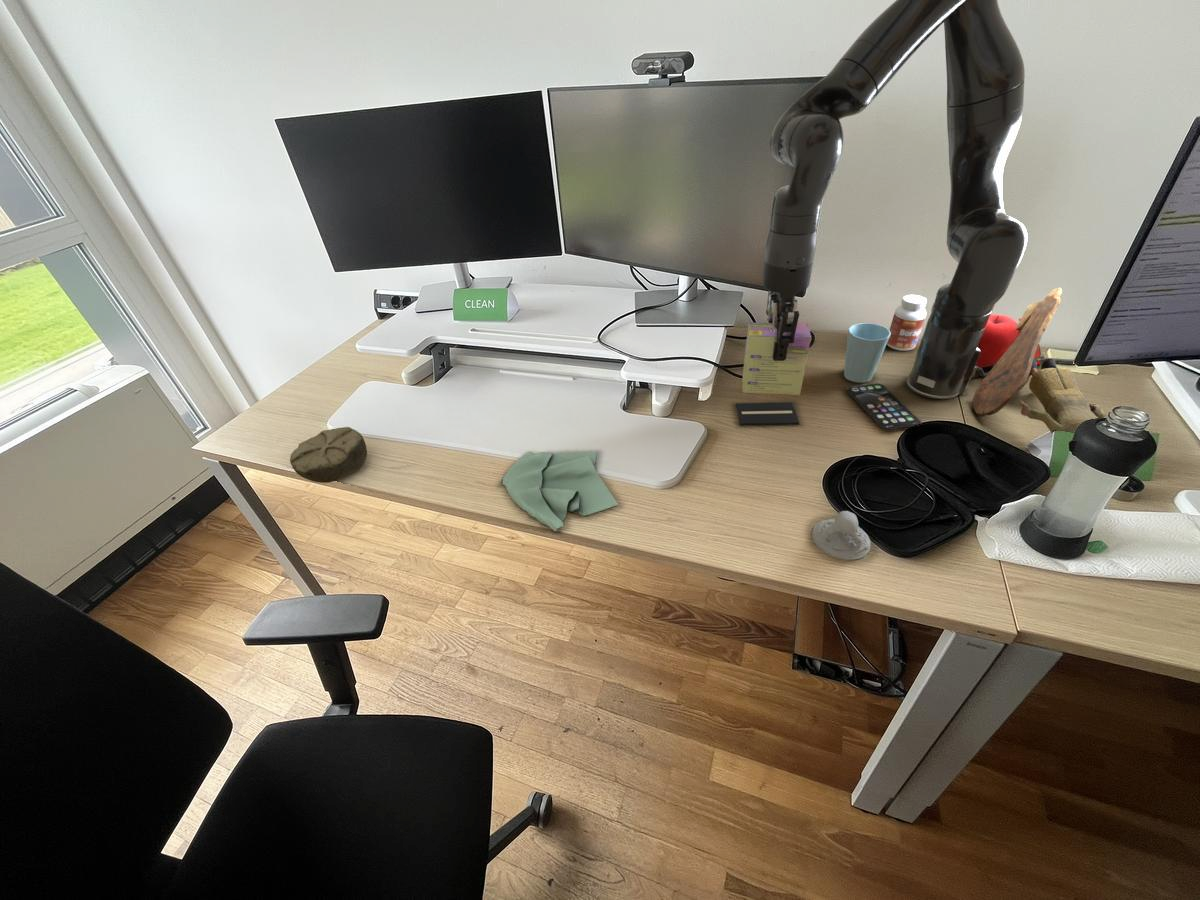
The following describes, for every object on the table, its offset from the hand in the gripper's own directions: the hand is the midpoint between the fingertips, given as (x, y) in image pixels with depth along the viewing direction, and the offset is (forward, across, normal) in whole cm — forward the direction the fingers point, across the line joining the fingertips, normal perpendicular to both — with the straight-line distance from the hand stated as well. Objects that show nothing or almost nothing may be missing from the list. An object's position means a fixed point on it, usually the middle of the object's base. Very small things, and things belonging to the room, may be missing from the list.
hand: (775, 350), depth 95 cm
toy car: (+8, -16, +55) cm, 58 cm away
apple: (+14, -17, +46) cm, 51 cm away
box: (+8, 0, 0) cm, 8 cm away
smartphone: (+14, -1, +22) cm, 26 cm away
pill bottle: (+14, -26, +34) cm, 45 cm away
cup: (+14, -13, +21) cm, 29 cm away
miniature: (+14, +32, +6) cm, 36 cm away
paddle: (+12, +3, +38) cm, 40 cm away
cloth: (+14, +21, -38) cm, 46 cm away
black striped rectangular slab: (+14, 0, 0) cm, 14 cm away
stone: (+7, +17, -83) cm, 85 cm away
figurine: (+9, -6, +50) cm, 51 cm away
